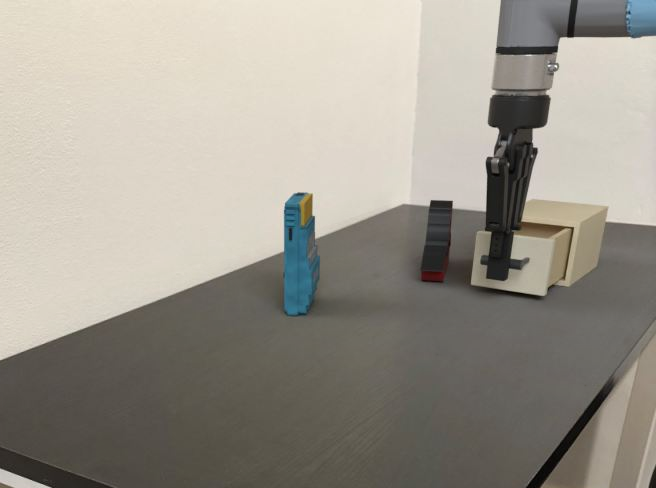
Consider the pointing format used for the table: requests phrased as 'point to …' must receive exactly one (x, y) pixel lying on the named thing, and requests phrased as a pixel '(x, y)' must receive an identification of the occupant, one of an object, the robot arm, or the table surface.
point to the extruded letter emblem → (437, 241)
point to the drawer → (527, 258)
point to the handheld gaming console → (300, 254)
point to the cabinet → (585, 233)
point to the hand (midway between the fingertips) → (496, 278)
